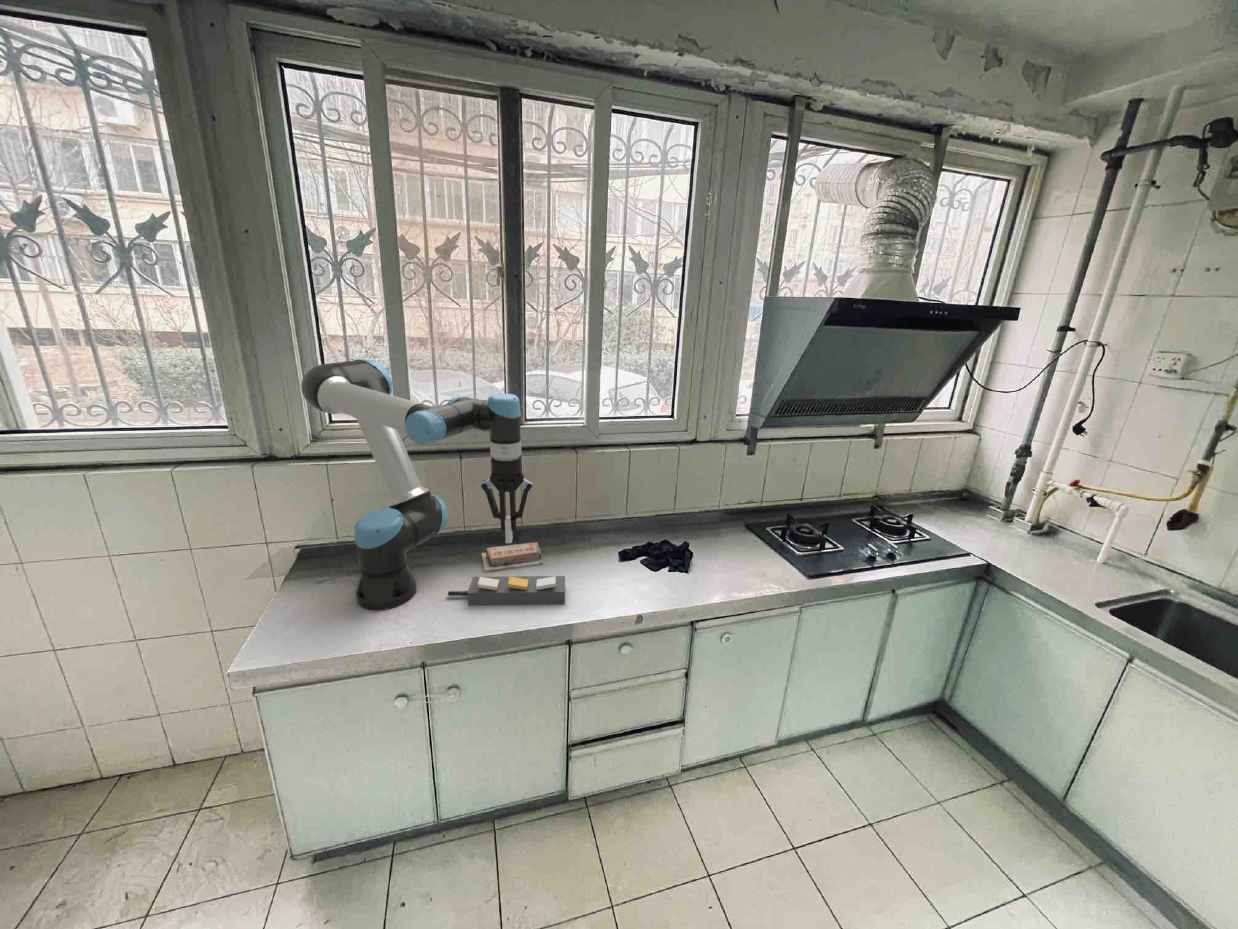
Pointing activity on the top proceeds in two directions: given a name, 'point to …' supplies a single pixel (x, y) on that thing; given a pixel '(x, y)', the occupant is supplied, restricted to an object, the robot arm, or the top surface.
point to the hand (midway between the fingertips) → (509, 540)
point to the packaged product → (511, 556)
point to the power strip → (514, 592)
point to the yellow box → (518, 583)
